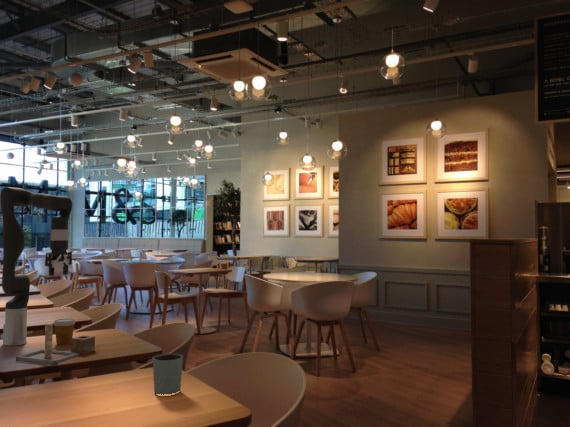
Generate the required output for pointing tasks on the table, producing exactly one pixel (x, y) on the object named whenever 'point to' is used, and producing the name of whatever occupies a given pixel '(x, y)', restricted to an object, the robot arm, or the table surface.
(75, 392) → the table surface
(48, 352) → the dowel
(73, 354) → the tray
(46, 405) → the table surface
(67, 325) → the disposable coffee cup
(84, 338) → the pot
